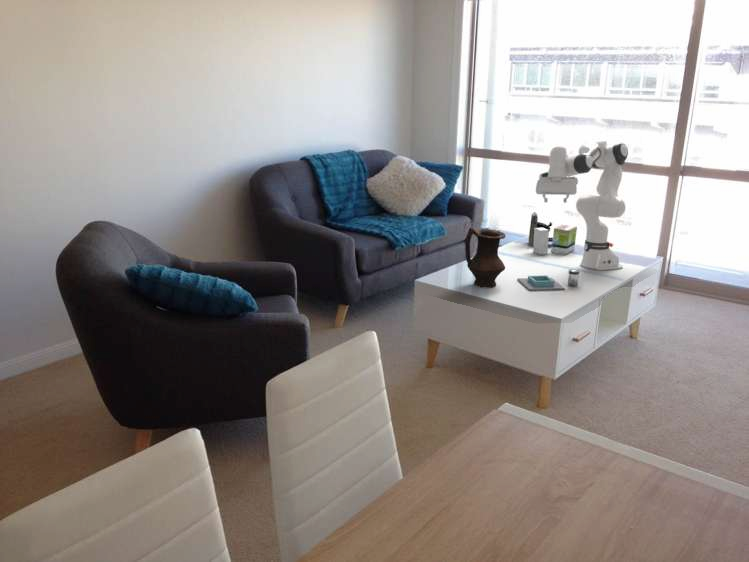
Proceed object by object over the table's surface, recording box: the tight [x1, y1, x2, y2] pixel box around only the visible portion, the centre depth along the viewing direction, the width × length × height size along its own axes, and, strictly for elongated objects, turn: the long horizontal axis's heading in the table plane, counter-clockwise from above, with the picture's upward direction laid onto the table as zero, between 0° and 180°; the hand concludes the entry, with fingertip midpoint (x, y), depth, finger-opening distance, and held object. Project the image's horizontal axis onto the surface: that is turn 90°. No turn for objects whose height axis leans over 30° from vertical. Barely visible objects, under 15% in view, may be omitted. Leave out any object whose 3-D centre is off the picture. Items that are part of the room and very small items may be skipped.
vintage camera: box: [528, 211, 553, 247], centre depth 409 cm, size 10×16×20 cm, turn 78°
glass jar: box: [567, 268, 580, 288], centre depth 328 cm, size 5×5×8 cm
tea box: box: [550, 224, 578, 255], centre depth 395 cm, size 15×10×15 cm
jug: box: [464, 226, 506, 288], centre depth 325 cm, size 21×18×30 cm
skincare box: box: [532, 228, 550, 255], centre depth 390 cm, size 8×6×15 cm
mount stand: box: [517, 275, 566, 292], centre depth 329 cm, size 18×18×4 cm
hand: (555, 202), depth 333 cm, fingers open, 8 cm apart
